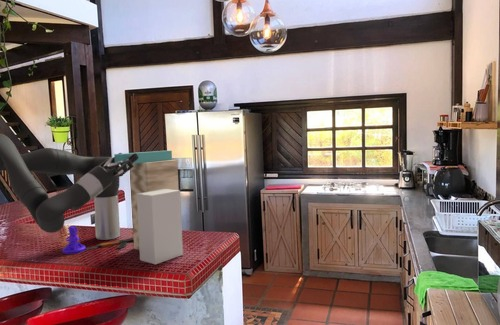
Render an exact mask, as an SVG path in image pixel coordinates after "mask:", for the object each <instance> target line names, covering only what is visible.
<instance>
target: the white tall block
mask: <svg viewBox="0 0 500 325" xmlns="http://www.w3.org/2000/svg"><path fill="white" fill-rule="evenodd" d="M181 197H182V196H181V190H180V189H179V190H171V189H161V190H155V191H150V192H144V193H138V194H137V212H138V231H139V250H138V251H139V260H140V261H142V262H145V263H149V264H153V265H158V264H161V263H163V262H166V261H170V260H171V259H175V258H177V257H180V256H184V246H183V244H184V243H183V225H182V224H183V223H182V222H183V221H182V200H181Z"/></svg>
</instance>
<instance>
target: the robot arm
mask: <svg viewBox="0 0 500 325" xmlns="http://www.w3.org/2000/svg"><path fill="white" fill-rule="evenodd" d="M133 153H134V154H132V155H131V156H130V157H129V158H127V159H126V160H124V161H118V162H116V163H115V158H114V156H83V155H77V154H76V153H73V152H71V151H68V150H64V149H58V148H53V147H44V148H39V149H35V150H32V151H29V152H26V153H20V152H19V149H18V148H17V147H16V145H15V144H14V142H13V141H12V140H11V138H10V137H8V136H7V135H5V134H3V133H0V171H2V172H3V171H5V172H7V176H8V180H9V184H10V188H11V189H12V192H13V193H14V194H15V196H16V197H17V199H18V200H19V201H20V202H21V203H22V205H23V206H24V207H25V208H26V209H27V210H28V212H29V213H30V215H31V217H32V218H33V219H34V221H35V223H36V224H37V226H38V228H40V229H41V230H42V231H44V232H45V233H50V234H53V233H57V232H59V231H60V230H62V228H63V227H64V225H65V221H66V220H65V219H66V218H65V215H64V214H65V213H67V211H70V210H72V211H77V210H79V209H81V208H83V206H85V205H86V204H87V203H88V202H90V201H91V200H92V199H93V200H94V231H95V238H96V240H101V241H102V240H105V241H107V240H113V239H118V238H119V237H120V236H121V230H120V227H121V226H120V223H121V222H120V208H119V193H118V192H119V188H120V177H122V176H124V175H125V174H126V173H128V172H130V169H131V168H133V167H134V166H133V164H132V163H133V162H135V161H136V160H137V159H138V156H137V154H136V153H137V152H133ZM118 154H123V152H119V153H118ZM123 163H124V164H123ZM119 164H120V165H119ZM31 172H33V173H40V174H41V173H42V174H50V175H58V176H61V175H62V176H69V175H77V176H78V175H81V177H80V178H79V179H78V180H77V181H76V182H74V184H72V185H71V186H69V187H68V188H67V189H65V190H64V191H62V192H59V193H56V194H55V195H53V196H51V197H49V195H48V193H47V191H46V190H45V189H44V188H43V185H41V184H40V183H39V182H38V180H36V178H35V177H34V176H33V174H32V173H31Z"/></svg>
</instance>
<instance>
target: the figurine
mask: <svg viewBox="0 0 500 325" xmlns="http://www.w3.org/2000/svg"><path fill="white" fill-rule="evenodd" d="M65 230H66V231H67V232H68V233H69V236H68V237H66V239H65V242H68V244H66V246H65V247H63V249H62V254H65V255H74V253H75V254H80V253H84V252H85V251H86V250H85V249H87V248H86V245H84V244H81V242H80V241H81V238H79V236H78V233H79V232H80V233H81V231H80V230H79V229H78V227H77V225H70V226H69V227H68V228H67V229H65ZM78 241H79V242H78Z"/></svg>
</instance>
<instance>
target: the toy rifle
mask: <svg viewBox="0 0 500 325" xmlns="http://www.w3.org/2000/svg"><path fill="white" fill-rule="evenodd" d="M129 243H134V237H131V238H126V239H125V238H124V239H118V240H114V241H109V242H103V243H99V244H97V245H95V246H90V247H87V248H86V249H85V251H88V250H94V249H101V248H106V247H112V246H117V247H115V250H116V249H117V250H122V249H124V248H126V247H127V244H129Z"/></svg>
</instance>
